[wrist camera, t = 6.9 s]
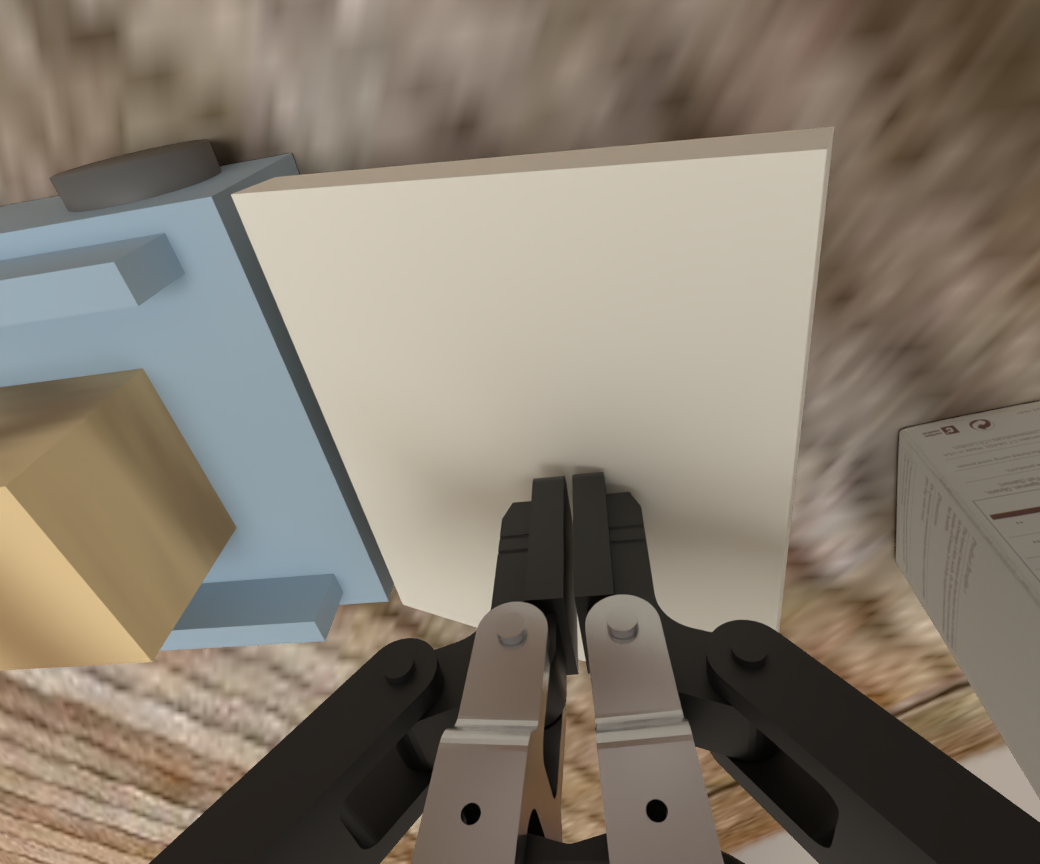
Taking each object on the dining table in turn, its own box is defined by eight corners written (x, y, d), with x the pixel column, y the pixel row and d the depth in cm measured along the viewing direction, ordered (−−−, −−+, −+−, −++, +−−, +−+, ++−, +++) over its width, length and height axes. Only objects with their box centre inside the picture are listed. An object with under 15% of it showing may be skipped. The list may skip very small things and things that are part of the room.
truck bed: (281, 123, 18) (143, 180, 12) (421, 520, 26) (381, 664, 20) (-175, 210, 20) (-475, 293, 14) (93, 549, 29) (-26, 685, 23)
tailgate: (275, 176, 15) (834, 126, 9) (424, 575, 22) (774, 673, 17) (230, 194, 14) (826, 148, 8) (402, 604, 21) (767, 718, 16)
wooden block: (142, 368, 17) (5, 486, 13) (236, 527, 20) (152, 661, 16) (-45, 393, 18) (-230, 511, 13) (76, 542, 21) (-44, 672, 17)
